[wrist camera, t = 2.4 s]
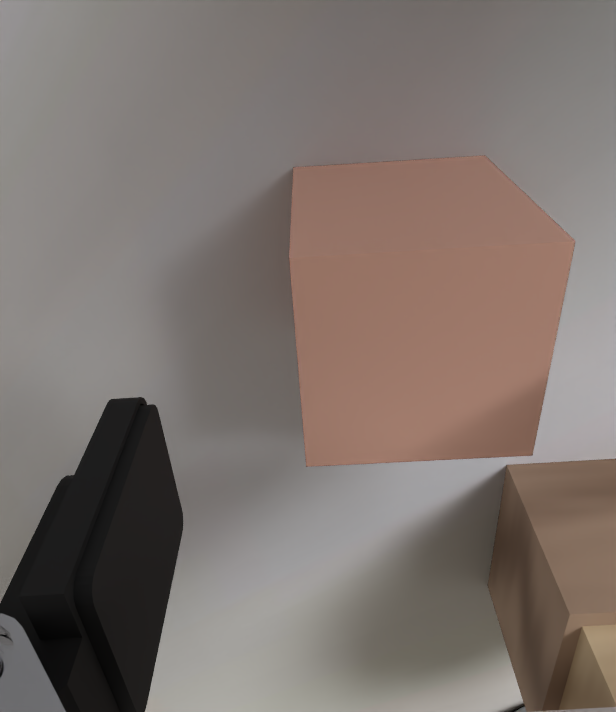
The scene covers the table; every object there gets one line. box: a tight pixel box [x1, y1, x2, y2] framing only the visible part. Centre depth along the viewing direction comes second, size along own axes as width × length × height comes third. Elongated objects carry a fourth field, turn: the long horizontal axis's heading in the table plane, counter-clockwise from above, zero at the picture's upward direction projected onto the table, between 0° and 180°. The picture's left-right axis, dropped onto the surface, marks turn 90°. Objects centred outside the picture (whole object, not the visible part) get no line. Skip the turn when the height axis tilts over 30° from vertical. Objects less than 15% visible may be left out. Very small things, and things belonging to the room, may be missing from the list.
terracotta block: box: [289, 155, 575, 467], centre depth 14 cm, size 5×5×6 cm
